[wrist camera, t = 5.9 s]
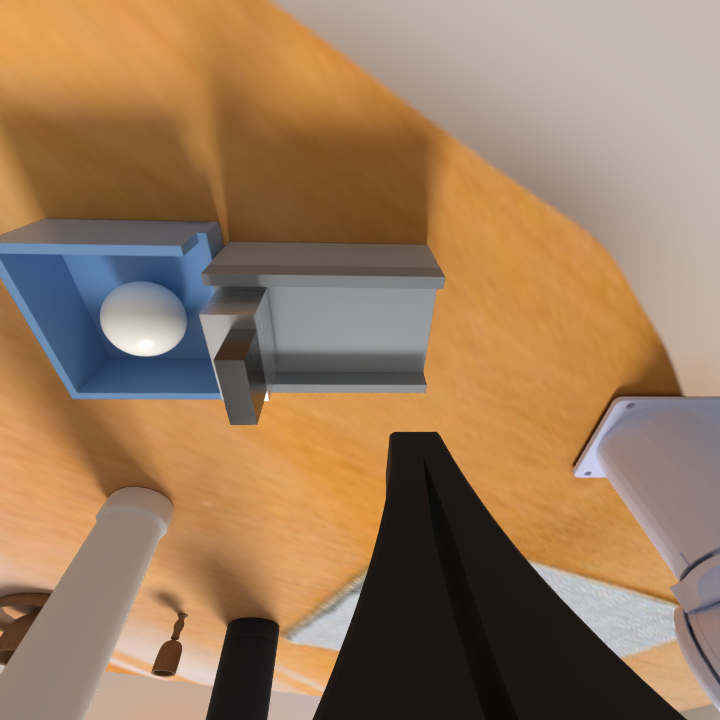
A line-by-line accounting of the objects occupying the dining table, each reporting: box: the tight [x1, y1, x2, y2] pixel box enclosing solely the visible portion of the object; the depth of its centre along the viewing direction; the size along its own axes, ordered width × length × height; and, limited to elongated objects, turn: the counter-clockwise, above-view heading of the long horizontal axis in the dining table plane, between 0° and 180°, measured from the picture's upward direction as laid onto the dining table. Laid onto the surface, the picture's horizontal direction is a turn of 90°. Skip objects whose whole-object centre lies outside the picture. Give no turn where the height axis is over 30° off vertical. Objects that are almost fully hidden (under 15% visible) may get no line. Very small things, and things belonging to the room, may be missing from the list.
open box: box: [0, 219, 224, 399], centre depth 17 cm, size 8×8×4 cm
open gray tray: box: [201, 241, 445, 393], centre depth 17 cm, size 10×6×4 cm, turn 89°
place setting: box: [0, 593, 188, 677], centre depth 41 cm, size 18×20×6 cm
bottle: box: [0, 487, 173, 720], centre depth 19 cm, size 5×5×25 cm
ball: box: [100, 281, 187, 356], centre depth 17 cm, size 4×4×4 cm
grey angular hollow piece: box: [199, 287, 278, 425], centre depth 14 cm, size 2×4×4 cm, turn 179°
